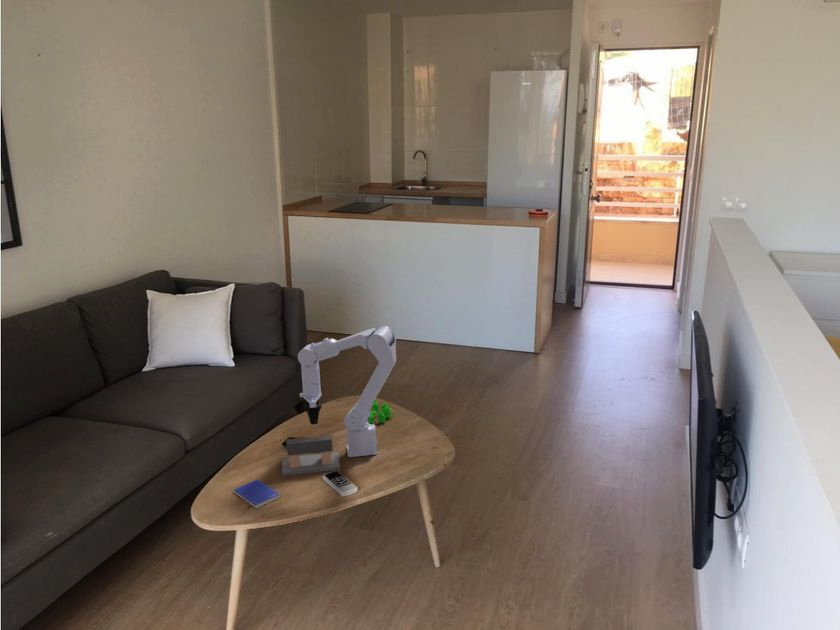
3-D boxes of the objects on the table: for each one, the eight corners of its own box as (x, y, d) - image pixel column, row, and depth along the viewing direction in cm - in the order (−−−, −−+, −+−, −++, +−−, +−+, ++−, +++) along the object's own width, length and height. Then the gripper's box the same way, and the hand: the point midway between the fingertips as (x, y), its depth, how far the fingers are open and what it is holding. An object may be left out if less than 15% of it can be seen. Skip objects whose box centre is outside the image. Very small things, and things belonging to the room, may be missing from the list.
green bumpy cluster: (345, 417, 247) (344, 400, 245) (378, 406, 256) (377, 389, 254) (368, 430, 235) (367, 413, 233) (401, 418, 244) (401, 401, 242)
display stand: (338, 454, 218) (337, 440, 217) (340, 469, 209) (339, 455, 207) (282, 460, 215) (281, 446, 214) (282, 476, 206) (280, 461, 204)
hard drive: (280, 493, 194) (257, 478, 203) (256, 504, 189) (233, 489, 197) (280, 498, 195) (258, 483, 203) (256, 509, 189) (234, 493, 198)
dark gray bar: (331, 446, 213) (331, 435, 212) (332, 450, 210) (331, 439, 209) (287, 451, 211) (286, 439, 210) (287, 455, 208) (286, 444, 207)
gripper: (298, 373, 223) (301, 411, 227) (298, 390, 210) (301, 429, 213) (319, 372, 224) (322, 409, 228) (321, 388, 211) (323, 427, 215)
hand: (313, 418), depth 221 cm, fingers open, 7 cm apart
